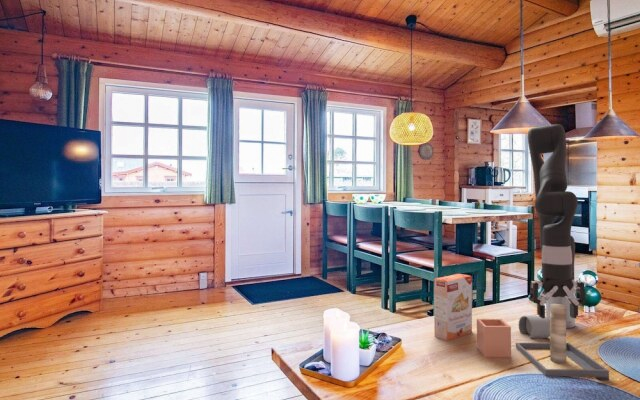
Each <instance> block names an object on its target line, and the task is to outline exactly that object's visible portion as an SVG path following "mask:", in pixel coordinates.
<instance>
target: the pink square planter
mask: <svg viewBox="0 0 640 400" xmlns="http://www.w3.org/2000/svg"><path fill="white" fill-rule="evenodd" d="M476 348H477V349H478V350H479V352H480V353H481V354H482V355H483V357H484V358H512V327H511V325H510V324H508V323H507V322H506V321H505V320H503V319H502V318H476Z"/></svg>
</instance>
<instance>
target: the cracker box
mask: <svg viewBox="0 0 640 400" xmlns="http://www.w3.org/2000/svg"><path fill="white" fill-rule="evenodd" d="M433 282H434V283H433V285H434V286H433V287H434V288H433V289H434V291H433V292H434V293H433V296H434V297H433V298H434V302H433V303H434V310H433V311H434V313H433V314H434V317H433V318H434V337H435V338H438V339H441V340H443V341H447V342H448V341H451V340H454V339H456V338H460V337H463V336H465V335H468V334H470V333H472V332H473V312H472V311H473V276H472V275H469V274H464V273H463V274H462V273H456V274H451V275H446V276H440V277H436V278H434V280H433Z"/></svg>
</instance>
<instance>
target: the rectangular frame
mask: <svg viewBox="0 0 640 400" xmlns="http://www.w3.org/2000/svg"><path fill="white" fill-rule="evenodd" d="M515 349H516V350H518V351H519V352H520V354H522V355H523V356H524V357H525V358H526V359H527V360H528V361H529V362H530V363H531V364H532V365H534V366H535V368H537V369H538V370H539V371H540V372H541V373H542V374H543V376H545V377H546V376H547V377H593V378H595V380H598V381H609V380H610V370H609V369H607V368H605V366H603V365H601V364H600V363H599V362H597V361H596V360H595V359H593V358H591V357H590V356H588V355H587V354H586V353H584V352H583V351H581V350H580V349H579V348H577V347H575V346H574V345H573V344H571V343H570V342H566V358H568V359H569V360H571V361H572V362H574V363H575V364H576V365H577V366H578V367H580V368H578V369H577V368H575V369H574V368H570V369H569V368H546V367H545V366H544V365H543V364H542V363H541V362H539V360H537V359H536V358H535V357H534V356H533V355H532V354H531V353H530V352H528V351H527V350H526V349H550V342H515Z"/></svg>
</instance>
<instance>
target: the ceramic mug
mask: <svg viewBox="0 0 640 400" xmlns="http://www.w3.org/2000/svg"><path fill="white" fill-rule="evenodd" d="M518 329H519V333H520V334H522V335H523V334H529V339H541V338H542V339H548V338H550V320H549V319H548V318H546V316H545V318H541V317H540V316H539V315H522V316H521V317H520V318H519V320H518Z"/></svg>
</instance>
